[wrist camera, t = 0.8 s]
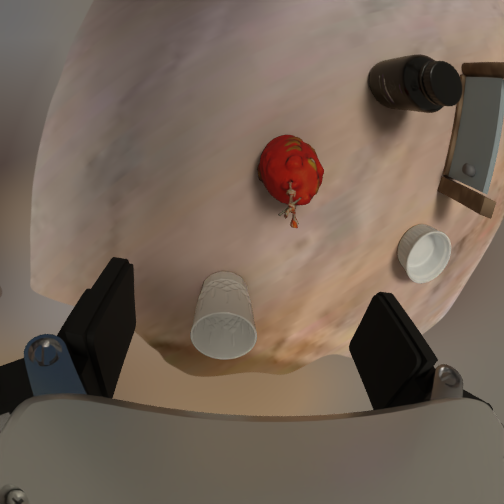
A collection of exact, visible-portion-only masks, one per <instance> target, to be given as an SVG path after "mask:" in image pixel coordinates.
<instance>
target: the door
mask: <svg viewBox="0 0 504 504" xmlns="http://www.w3.org/2000/svg"><path fill="white" fill-rule="evenodd" d="M503 116H504V79H502V78H490V77H466V82H465V92H464V100H463V107H462V114H461V120H460V126H459V131H458V136H457V141H456V146H455V151H454V155H453V159H452V164H451V168H450V172H449V175H448V177H451V178H453V179H455V180H458V181H460V182H462V183H464V184H466V185H468V186H470V187H473V188H475V189H477V190H479V191H481V192H483V193H485V194H487V193H488V190H489V186H490V182H491V179H492V175H493V171H494V166H495V162H496V157H497V153H498V147H499V142H500V136H501V130H502V124H503Z"/></svg>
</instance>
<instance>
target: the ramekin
mask: <svg viewBox="0 0 504 504" xmlns="http://www.w3.org/2000/svg"><path fill="white" fill-rule="evenodd" d="M450 254H451V243H450V240H449V238H448V236H447V235H446V234H445V233H443V232H441V231H438V230H436V229H434V228H433V227H431V226H429V225H425V224H419V225H416V226H414V227H412V228H410V229H409V230H408V231H407V232H406V233H405V234H404V236H403V237H402V239H401V241H400V243H399V246H398V259H399V261H400V263H401V265H402V266H403V268H404V269H405V270H406V273H407V275H408V277H409V278H410V279H411V280H412V281H413V282H415V283H426V282H429V281H431V280H433V279H434V278H436V277H437V276H438V275H439V274H440V273H441V272H442V271H443V270H444V268H445V267H446V265H447V263H448V261H449V258H450Z"/></svg>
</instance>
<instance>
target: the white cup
mask: <svg viewBox="0 0 504 504" xmlns="http://www.w3.org/2000/svg"><path fill="white" fill-rule="evenodd" d="M190 336H191V341H192V343H193V345H194V346H195V347H196V349H197V350H199V351H200V352H201V353H203V354H204V355H206V356H209V357H212V358H216V359H234V358H237V357H240V356H243V355H245V354H246V353H248V352H249V351H250V350H251V349H252V348H253V347H254V345H255V343H256V340H257V332H256V327H255V321H254V315H253V310H252V305H251V300H250V297H249V294H248V288H247V284H246V283H245V281H244V280H243V279H242V277H240V276H238V275H237V274H235V273H233V272H225V271H221V272H217V273H214V274H211V275H210V276H209V277H208V278H207V279H206V280H205V281H204V283H203V286H202V289H201V293H200V295H199V299H198V302H197V306H196V310H195V315H194V319H193V324H192V328H191V334H190Z"/></svg>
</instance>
